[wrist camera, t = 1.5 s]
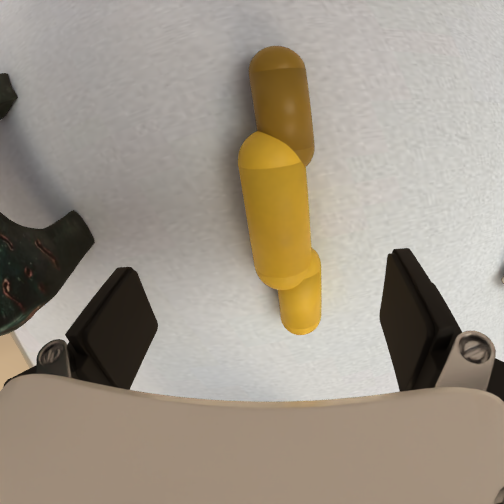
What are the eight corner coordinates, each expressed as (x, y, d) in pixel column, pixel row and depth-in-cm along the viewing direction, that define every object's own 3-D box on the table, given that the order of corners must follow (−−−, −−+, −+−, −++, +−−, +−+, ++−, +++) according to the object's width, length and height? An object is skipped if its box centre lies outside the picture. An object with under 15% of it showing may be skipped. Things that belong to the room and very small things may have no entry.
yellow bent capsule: (223, 57, 13) (215, 46, 10) (297, 49, 13) (308, 37, 10) (265, 319, 22) (266, 352, 19) (317, 312, 21) (325, 345, 19)
